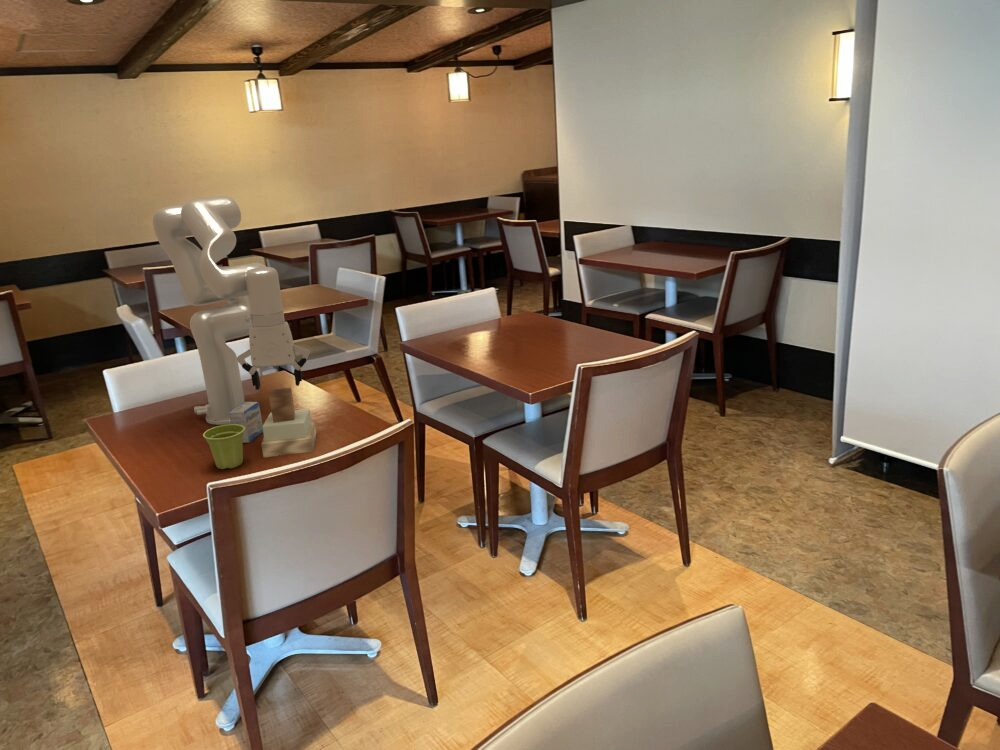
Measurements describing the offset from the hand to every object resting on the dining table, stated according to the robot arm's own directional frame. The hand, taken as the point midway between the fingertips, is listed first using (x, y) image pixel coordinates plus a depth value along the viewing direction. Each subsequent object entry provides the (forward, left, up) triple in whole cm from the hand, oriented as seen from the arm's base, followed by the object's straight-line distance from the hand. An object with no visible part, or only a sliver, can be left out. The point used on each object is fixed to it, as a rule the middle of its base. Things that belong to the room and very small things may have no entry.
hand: (278, 386), depth 186 cm
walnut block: (0, -1, -8) cm, 8 cm away
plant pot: (-13, -8, -16) cm, 22 cm away
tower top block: (+1, 0, -12) cm, 12 cm away
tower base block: (+1, 0, -16) cm, 16 cm away
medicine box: (-11, +9, -16) cm, 21 cm away
